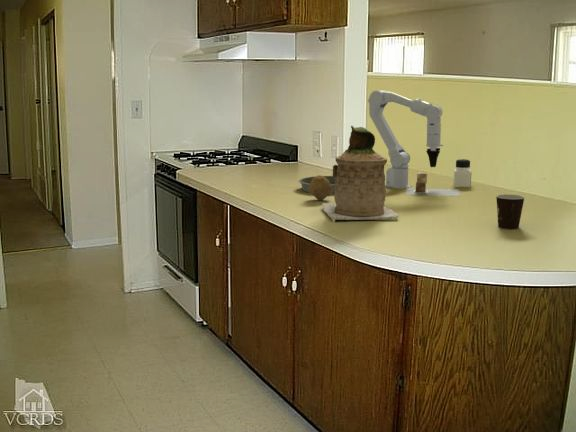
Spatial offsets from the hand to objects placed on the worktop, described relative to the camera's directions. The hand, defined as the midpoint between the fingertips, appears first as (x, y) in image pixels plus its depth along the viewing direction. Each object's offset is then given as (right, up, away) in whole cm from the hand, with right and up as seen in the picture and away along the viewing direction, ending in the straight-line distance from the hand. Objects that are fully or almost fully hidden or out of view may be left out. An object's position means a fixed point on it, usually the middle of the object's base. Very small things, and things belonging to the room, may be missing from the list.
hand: (433, 165), depth 277 cm
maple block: (-6, -7, -5) cm, 11 cm away
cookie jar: (-37, -21, -45) cm, 62 cm away
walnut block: (-6, -11, -5) cm, 14 cm away
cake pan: (-45, -10, +6) cm, 47 cm away
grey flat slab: (-1, -12, -6) cm, 13 cm away
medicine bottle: (+15, -9, +10) cm, 20 cm away
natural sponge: (-50, -15, -18) cm, 55 cm away
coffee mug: (+9, -26, -68) cm, 73 cm away
